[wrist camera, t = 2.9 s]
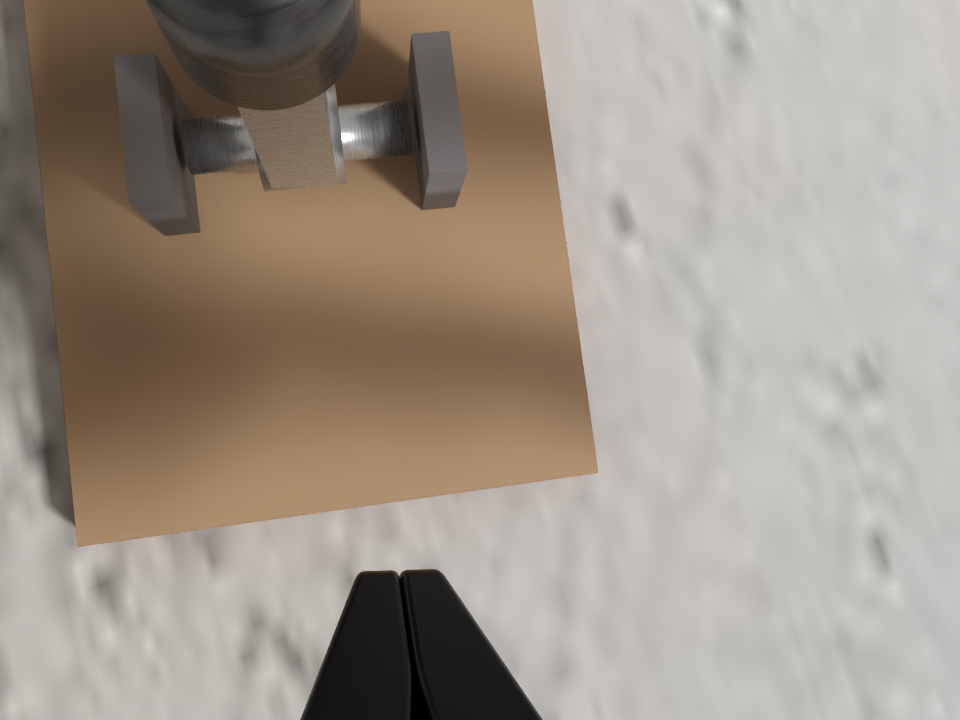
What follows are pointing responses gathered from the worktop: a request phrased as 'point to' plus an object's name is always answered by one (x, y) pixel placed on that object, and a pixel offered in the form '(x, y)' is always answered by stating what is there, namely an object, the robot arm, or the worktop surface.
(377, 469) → the press base
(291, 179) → the lever
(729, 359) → the worktop surface
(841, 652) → the worktop surface
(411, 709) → the robot arm
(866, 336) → the worktop surface
